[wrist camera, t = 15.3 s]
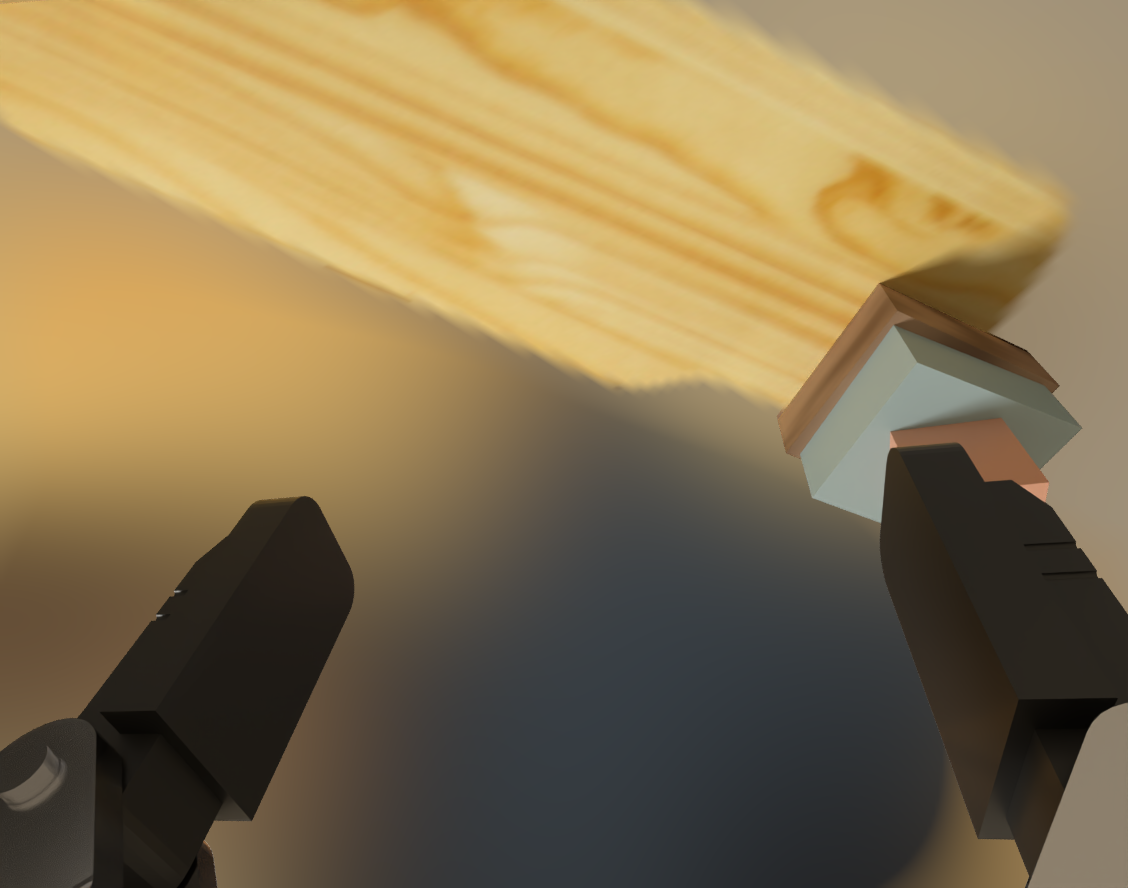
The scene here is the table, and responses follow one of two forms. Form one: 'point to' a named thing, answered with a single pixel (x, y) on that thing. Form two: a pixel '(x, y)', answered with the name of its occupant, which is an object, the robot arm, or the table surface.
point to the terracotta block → (983, 450)
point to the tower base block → (863, 341)
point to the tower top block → (921, 415)
